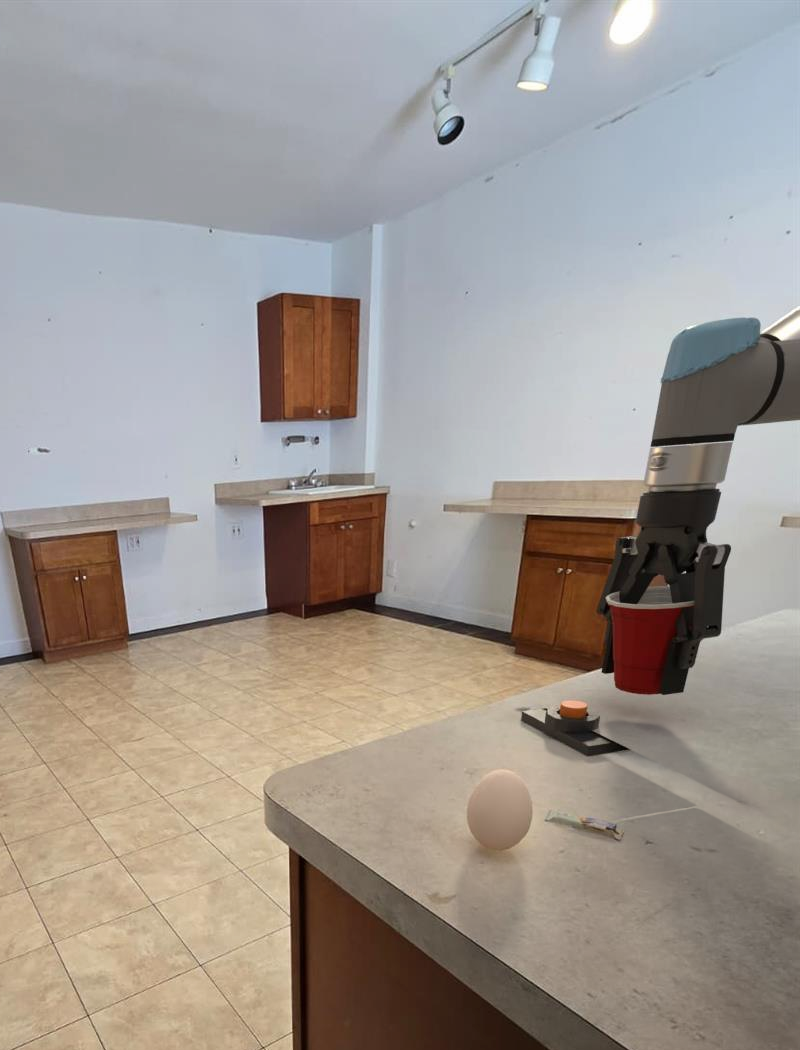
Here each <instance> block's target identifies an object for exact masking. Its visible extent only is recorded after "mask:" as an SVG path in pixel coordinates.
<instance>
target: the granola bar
mask: <svg viewBox="0 0 800 1050" xmlns="http://www.w3.org/2000/svg"><path fill="white" fill-rule="evenodd" d="M544 821H547V822H554V823H558V824H562V825H565V826H569V827H571V828H573V829H577V830H580V831H584V832H588V833H592V834H596V835H600V836H604V837H608V838H613V839H616V840H619V841H620V840H621V837H622V835H623V833H624V832H625V828H622V827H620V826H618V824H617V823H615V822H610V821H606V820H602V819H597V818H594V817H591V816H586V815H582V814H577V813H573V812H569V811H566V810H565V811H564V810H552V809H551V810H549V811H548V813H547V816H546V817H545V818H544Z"/></svg>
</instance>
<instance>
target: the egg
mask: <svg viewBox="0 0 800 1050" xmlns="http://www.w3.org/2000/svg"><path fill="white" fill-rule="evenodd" d="M533 810H534V809H533V800H532V798H531V794H530V791H529V788H528V787H527V785H526V783H525V782H524V780H523V778H521V777H520V776H519V775H518V774H516V773H515V772H513V771H512V770H509V769H504V768H503V769H495V770H492V771H490V772H488V773H487V774H485V775H484V776H483V777H482V778H481V779H480V780H479V781H478V782H477V784H476V786H474V788H473V790H472V791H471V794H470V796H469V798H468V803H467V808H466V821H467V826H468V829H469V831H470V833H471V834H472V837H473V838H474V839H475V840H476V842H478V843H479V845H481V846H482V847H484V848H486V849H488V850H490V851H491V850H492V851H495V852H497V851H500V852H501V851H506V850H510V849H512V848H513V847H515V846H516V845H518V844H519V843H520V842H521V841H522V840H523V839H524V838H525V837H526V836H527V834H528V833H529V831H530V828H531V825H532V821H533V814H534V813H533Z"/></svg>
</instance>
